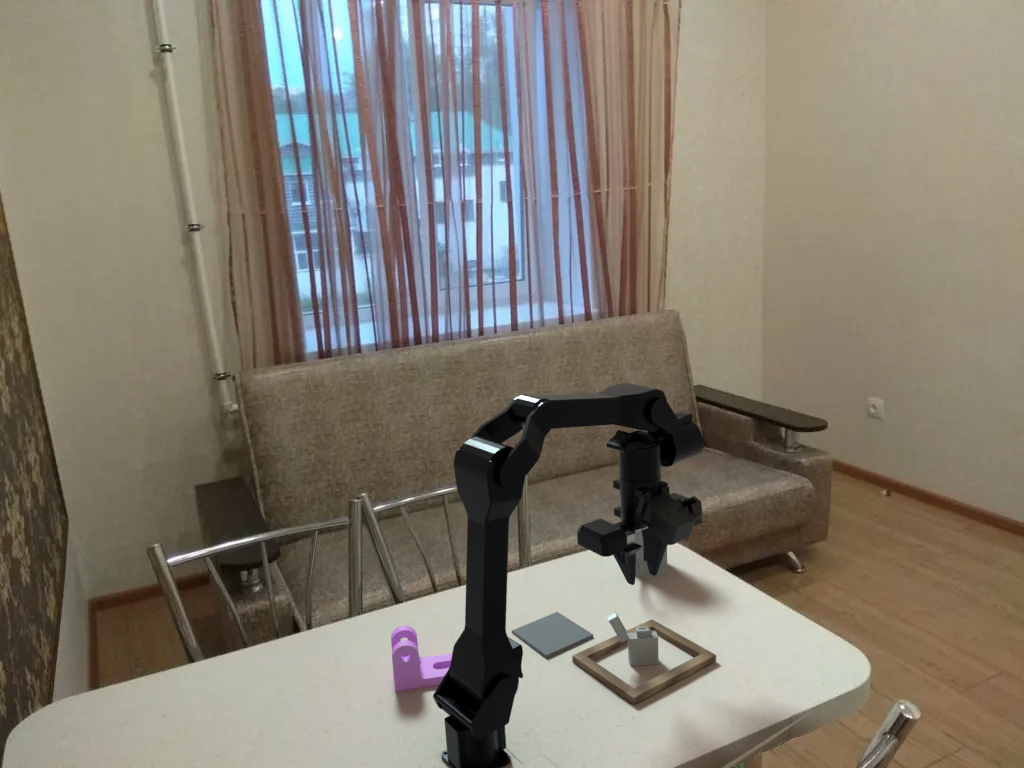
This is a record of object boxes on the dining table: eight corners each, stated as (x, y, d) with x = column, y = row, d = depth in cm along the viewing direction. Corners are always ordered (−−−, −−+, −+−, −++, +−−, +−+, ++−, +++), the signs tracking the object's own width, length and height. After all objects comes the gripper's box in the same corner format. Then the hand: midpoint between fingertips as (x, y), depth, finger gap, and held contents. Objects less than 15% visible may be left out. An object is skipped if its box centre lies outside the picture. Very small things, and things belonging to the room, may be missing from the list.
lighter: (656, 657, 117) (655, 607, 115) (658, 664, 115) (658, 613, 113) (607, 660, 117) (606, 610, 115) (609, 667, 115) (608, 616, 113)
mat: (546, 658, 118) (546, 655, 118) (511, 633, 125) (511, 630, 125) (593, 637, 123) (593, 634, 123) (557, 615, 130) (557, 611, 130)
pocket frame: (633, 704, 106) (633, 697, 106) (572, 661, 117) (572, 655, 117) (716, 661, 115) (716, 654, 115) (652, 625, 125) (651, 619, 125)
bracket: (395, 692, 112) (391, 647, 111) (394, 670, 118) (390, 627, 116) (486, 678, 114) (483, 634, 113) (481, 657, 120) (478, 615, 118)
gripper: (629, 509, 98) (632, 624, 101) (732, 473, 108) (731, 579, 112) (572, 485, 107) (577, 592, 110) (672, 454, 117) (673, 553, 121)
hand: (642, 579), depth 113 cm, fingers open, 4 cm apart
